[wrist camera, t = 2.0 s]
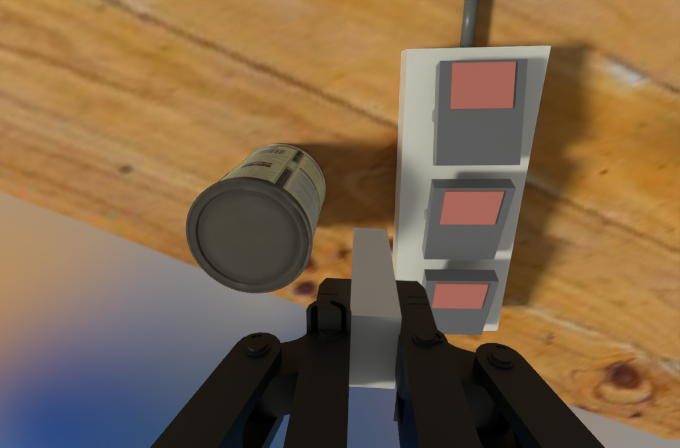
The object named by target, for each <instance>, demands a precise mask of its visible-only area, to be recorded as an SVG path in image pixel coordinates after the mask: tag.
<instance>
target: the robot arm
mask: <svg viewBox="0 0 680 448" xmlns="http://www.w3.org/2000/svg"><path fill="white" fill-rule="evenodd" d="M306 312H307V313H306V315H307V334H305V335H304V336H303V337H301V338H299V339H297V340H293V341H289V342H284V343H280V340H279V339H278V338H277V337H276V336H274V335H272V334H269V333H261V332H260V333H254V334H250V335H248V336H246V337H243V338H242V339H241V340H240V341H239V342H237V344H236V345H235V346H234V347H233V348H232V350H231V351H230V352H229V353H228V355H227V356H226V357H225V358H224V359H223V360H222V362H221V363H220V364H219V365H218V367H217V368H216V369H215V370H214V371H213V373H212V374H211V375H210V376H209V377H208V379H207V380H206V381H205V382H204V384H203V385H202V386H201V387H200V388H199V390H198V391H197V392H196V393H195V394H194V396H193V397H192V398H191V399H190V400H189V402H188V403H187V404H186V405H185V406H184V408H183V409H182V410H181V411H180V412H179V414H178V415H177V416H176V417H175V419H174V420H173V421H172V422H171V423H170V424H169V426H168V427H167V428H166V429H165V431H164V432H163V433H162V434H161V435H160V437H159V438H158V439H157V440H156V442H155V443H154V444H153V445H152V446H151V448H269V447H270V445H271V442H272V441H273V439H274V437H275V434H276V433H277V431H278V429H279V427H280V425H281V423H282V421H283V418H284V415H288V414H290V418H289V423H288V427H287V433H286V437H285V442H284V448H347V427H348V398H349V386H357V387H373V388H391V389H394V388H395V380H396V387H397V393H396V403H395V413H394V421H397V422H398V432H399V442H400V448H605V447H604V446H603V445H602V444H601V443H600V442H599V441H598V440H597V439H596V438H595V436H594V435H593V434H592V433H591V432H590V431H589V430H588V429H587V427H586V426H585V425H584V424H583V423H582V422H581V421H580V420H579V419H578V417H577V416H576V415H575V414H574V413H573V412H572V411H571V410H570V409H569V408H568V406H567V405H566V404H565V403H564V402H563V401H562V400H561V399H560V398H559V396H558V395H557V394H556V393H555V392H554V391H553V390H552V389H551V388H550V386H549V385H548V384H547V383H546V382H545V381H544V380H543V379H542V378H541V377H540V375H539V374H538V373H537V372H536V371H535V370H534V369H533V368H532V367H531V365H530V364H529V363H528V362H527V361H526V360H525V359H524V358H523V357H522V356H521V355H520V354H519V353H518V352H517V351H515V350H514V349H512V348H510V347H508V346H505V345H502V344H498V343H486V344H482V345H480V346H479V347H478V348H477V349H476V353H475V352H471V351H467V350H464V349H461V348H458V347H455V346H453V345H451V344H449V343H448V341H447V339H446V337H445V335H444V334H443V333H442V332H440V331H439V330H438V329H437V326H436V323H435V320H434V316H433V313H432V310H431V307H430V303H429V300H428V297H427V293H426V290H425V288H424V287H423V286H422V285H421V284H420V283H419V282H418V281H405V280H395V275H394V269H393V263H392V257H391V251H390V245H389V240H388V234H387V229H375V228H354V236H353V258H352V279H338V278H326V279H325V280H324V281H323V282H322V283H321V284H320V285H319V290H318V295H317V301H314V302H313V303H312V304H310V305H309V306H308V308H307V310H306Z"/></svg>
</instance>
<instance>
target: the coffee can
mask: <svg viewBox="0 0 680 448" xmlns="http://www.w3.org/2000/svg"><path fill="white" fill-rule="evenodd" d="M325 193H326V185H325V179H324V176H323V173H322V171H321V169H320V167H319V165H318V164H317V163H316V161H315V160H314V159H313V158H312V157H311V156H310V155H309V154H308V153H306V152H305V151H303V150H302V149H300V148H297V147H295V146H292V145H288V144H270V145H266V146H263V147H261V148H259V149H257V150H255V151H254V152H253V153H252V154H250V155H249V156H248V158H246V159H245V160H244V161H243V162H242V163H240V164H239V165H238V166H237V167H236V168H234V169H233V170H232V171H231V172H230V173H228V174H226V175H225V176H224V177H223V178H222V179H221V180H220V181H218V182H217V183H215V184H213V185H212V186H210V187H209V188H207V189H206V190H205V191H203V192H202V193H201V194H200V195H199V196H198V197H197V198H196V200H195V201H194V202H193V204H192V206H191V208H190V210H189V213H188V216H187V222H186V236H187V242H188V245H189V248H190V251H191V253H192V255H193V257H194V258H195V260H196V261H197V263H198V264H199V265H200V267H201V268H202V269H203V270H204V271H205V272H206V273H207V274H208V275H209V276H210V277H212V278H213V279H214V280H216V281H217V282H219V283H221V284H222V285H224V286H226V287H229V288H231V289H234V290H237V291H241V292H246V293H267V292H272V291H275V290H278V289H281V288H284V287H285V286H287V285H289V284H290V283H292V282H293V281H294V280H296V279H297V278H298V277H299V276H300V274H301V273H302V272H303V271H304V269H305V267H306V266H307V264H308V261H309V259H310V255H311V251H312V242H313V238H314V234H315V230H316V226H317V223H318V219H319V215H320V211H321V207H322V205H323V202H324V199H325Z"/></svg>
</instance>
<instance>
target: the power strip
mask: <svg viewBox="0 0 680 448" xmlns="http://www.w3.org/2000/svg"><path fill="white" fill-rule="evenodd" d="M478 1H479V0H465V2H464V12H463V22H462V32H461V42H460V48H434V49H406V50H404V51H401V72H400V95H399V119H398V143H397V167H396V191H395V215H394V239H393V269H394V275H395V280H405V281H418V282H419V283H420V284H421V285H422V280H423V274H424V269H453V270H495V272H496V275H497V277H498V280H499V284H498V287H497V290H496V293H495V296H494V299H493V302H492V305H491V308H490V311H489V314H488V317H487V320H486V323H485V326H484V329H483V331H497V329H498V324H499V318H500V313H501V308H502V303H503V297H504V292H505V287H506V281H507V276H508V271H509V265H510V260H511V255H512V249H513V244H514V239H515V234H516V228H517V223H518V218H519V212H520V207H521V202H522V196H523V191H524V186H525V180H526V175H527V170H528V164H529V159H530V154H531V149H532V143H533V138H534V133H535V127H536V122H537V117H538V111H539V106H540V101H541V95H542V90H543V85H544V80H545V74H546V69H547V64H548V58H549V53H550V48H551V46H513V47H474V48H473V46H474V37H475V28H476V19H477V10H478ZM493 59H528V63H527V77H526V90H525V104H524V118H523V132H522V145H521V159H520V165H472V166H433V141H434V111H435V82H436V65H437V64H438V63H439V61H450V60H493ZM431 179H510V180H511V181H512V183H513V184H514V186H515V187H516V190H515V193H514V196H513V199H512V203H511V206H510V209H509V213H508V216H507V219H506V222H505V226H504V229H503V232H502V235H501V239H500V242H499V245H498V249H497V252H496V255H495V258H494V260H442V259H424V257H423V252H422V245H423V238H424V230H425V223H426V216H427V209H428V201H429V194H430V187H431Z"/></svg>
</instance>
